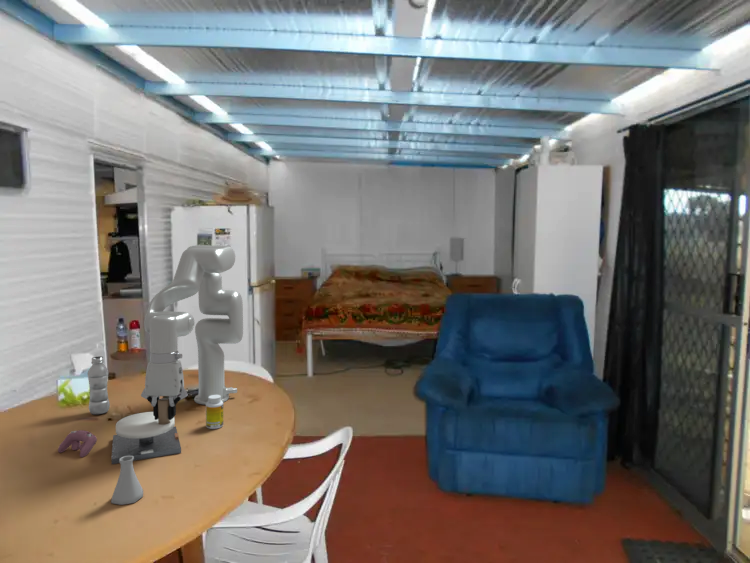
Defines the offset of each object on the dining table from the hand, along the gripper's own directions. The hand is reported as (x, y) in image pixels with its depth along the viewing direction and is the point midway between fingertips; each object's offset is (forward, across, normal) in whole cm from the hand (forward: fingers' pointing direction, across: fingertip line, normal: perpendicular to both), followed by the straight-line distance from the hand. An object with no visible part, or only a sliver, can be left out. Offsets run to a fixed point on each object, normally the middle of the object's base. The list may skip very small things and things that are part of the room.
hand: (164, 417), depth 149 cm
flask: (+10, -2, +28) cm, 30 cm away
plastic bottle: (+9, +34, -28) cm, 45 cm away
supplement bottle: (+9, -10, -17) cm, 22 cm away
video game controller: (+10, +24, +3) cm, 26 cm away
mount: (+9, +6, -1) cm, 11 cm away
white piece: (+3, +6, -1) cm, 7 cm away
